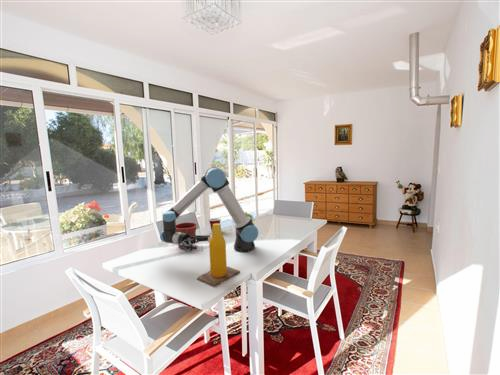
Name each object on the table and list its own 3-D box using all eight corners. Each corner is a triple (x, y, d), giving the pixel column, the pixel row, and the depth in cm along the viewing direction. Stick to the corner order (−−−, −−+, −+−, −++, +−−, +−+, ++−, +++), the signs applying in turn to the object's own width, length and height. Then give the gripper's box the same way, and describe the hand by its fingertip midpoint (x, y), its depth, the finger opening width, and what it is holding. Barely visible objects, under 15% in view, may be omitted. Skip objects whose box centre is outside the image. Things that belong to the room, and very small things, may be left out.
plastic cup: (222, 230, 236) (221, 217, 234) (221, 234, 225) (220, 220, 223) (209, 230, 235) (209, 217, 234) (208, 234, 225) (207, 220, 223)
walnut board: (222, 266, 161) (222, 264, 161) (239, 272, 153) (239, 270, 153) (197, 279, 146) (196, 277, 146) (214, 287, 137) (214, 284, 137)
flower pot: (192, 250, 188) (191, 229, 186) (171, 249, 192) (169, 228, 189) (201, 242, 204) (200, 222, 202) (181, 242, 208) (180, 222, 205)
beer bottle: (218, 268, 156) (216, 221, 152) (230, 273, 150) (228, 223, 146) (207, 274, 149) (204, 224, 145) (218, 279, 143) (216, 227, 139)
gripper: (196, 238, 171) (223, 243, 160) (166, 252, 149) (195, 258, 139) (195, 227, 170) (222, 231, 159) (165, 239, 148) (194, 245, 138)
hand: (210, 244), depth 149 cm, fingers open, 13 cm apart
